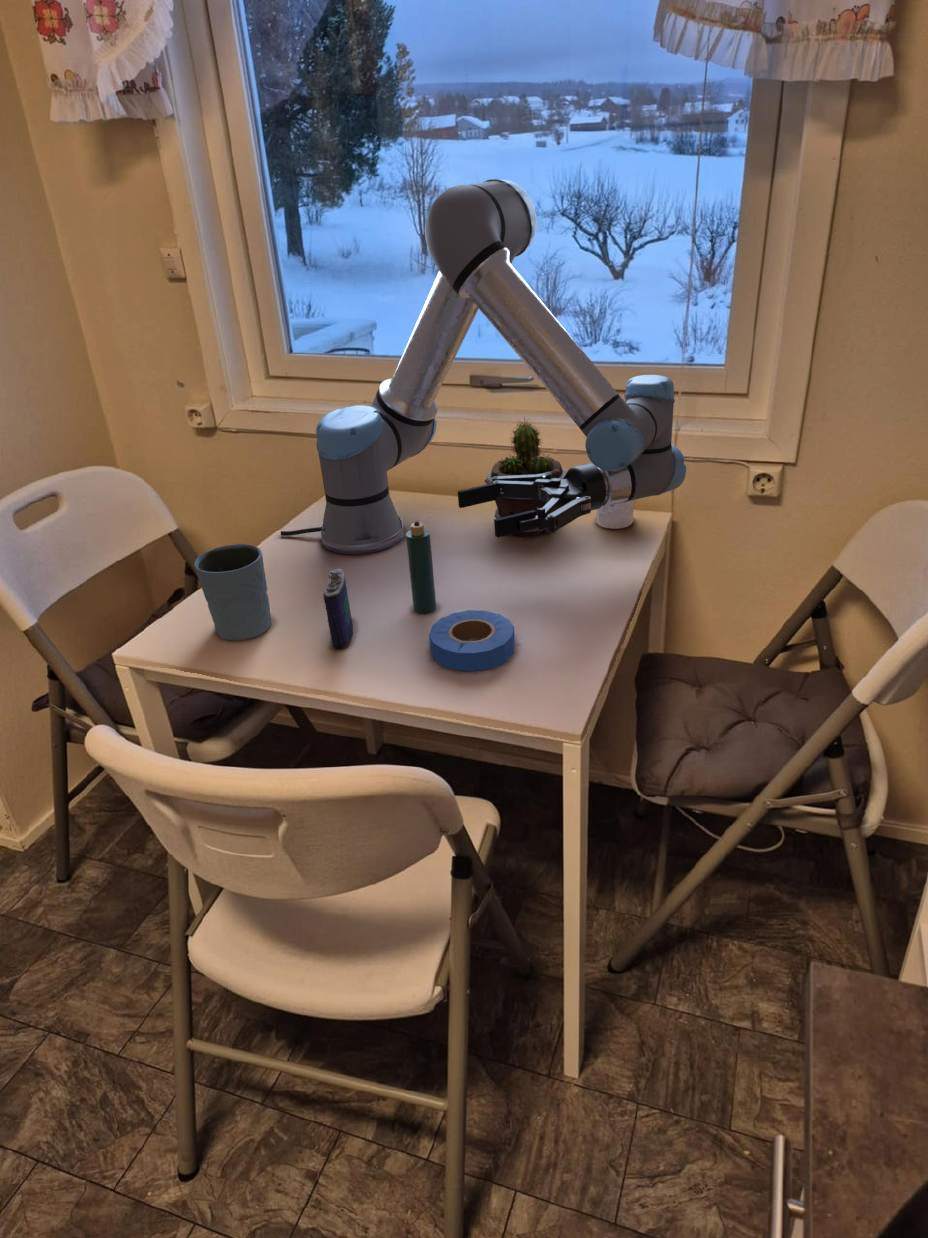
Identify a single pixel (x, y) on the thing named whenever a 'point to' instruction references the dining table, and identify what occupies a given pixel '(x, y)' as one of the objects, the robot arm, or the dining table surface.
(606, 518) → the grey faceted cup
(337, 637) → the flask
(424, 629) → the dining table surface
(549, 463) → the flowerpot
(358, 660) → the dining table surface
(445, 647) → the tape roll
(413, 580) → the green cylinder
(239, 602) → the blue cup
